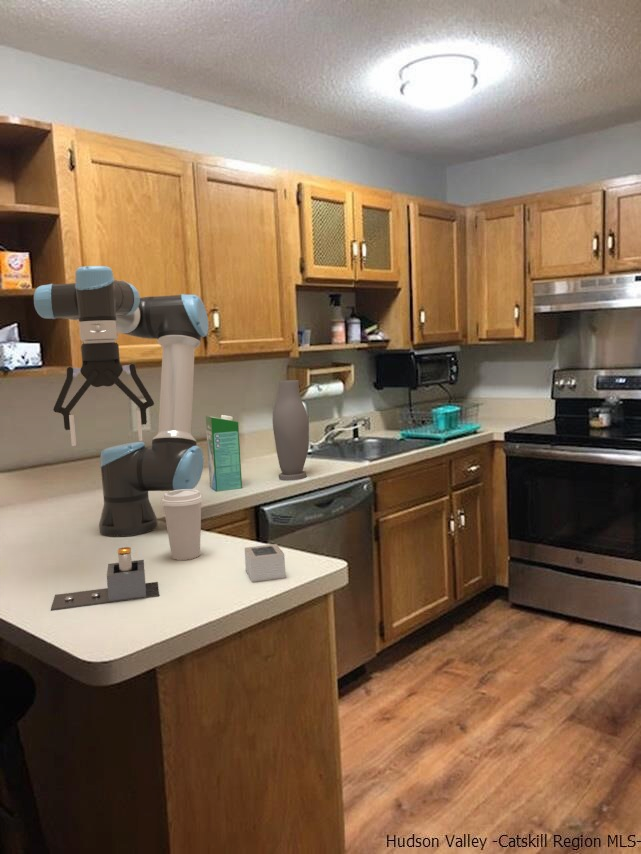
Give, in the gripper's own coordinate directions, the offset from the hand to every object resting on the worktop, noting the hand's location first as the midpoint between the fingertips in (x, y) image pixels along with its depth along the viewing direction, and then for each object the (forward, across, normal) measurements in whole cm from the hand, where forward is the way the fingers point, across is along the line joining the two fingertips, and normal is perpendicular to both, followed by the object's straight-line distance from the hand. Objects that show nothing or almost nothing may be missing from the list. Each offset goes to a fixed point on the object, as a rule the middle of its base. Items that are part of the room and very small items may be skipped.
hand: (107, 442), depth 149 cm
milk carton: (+29, +34, +82) cm, 93 cm away
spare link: (+29, +30, -13) cm, 44 cm away
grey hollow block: (+28, +2, -14) cm, 32 cm away
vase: (+29, +59, +89) cm, 111 cm away
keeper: (+29, -2, -14) cm, 32 cm away
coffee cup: (+29, +15, +7) cm, 33 cm away
